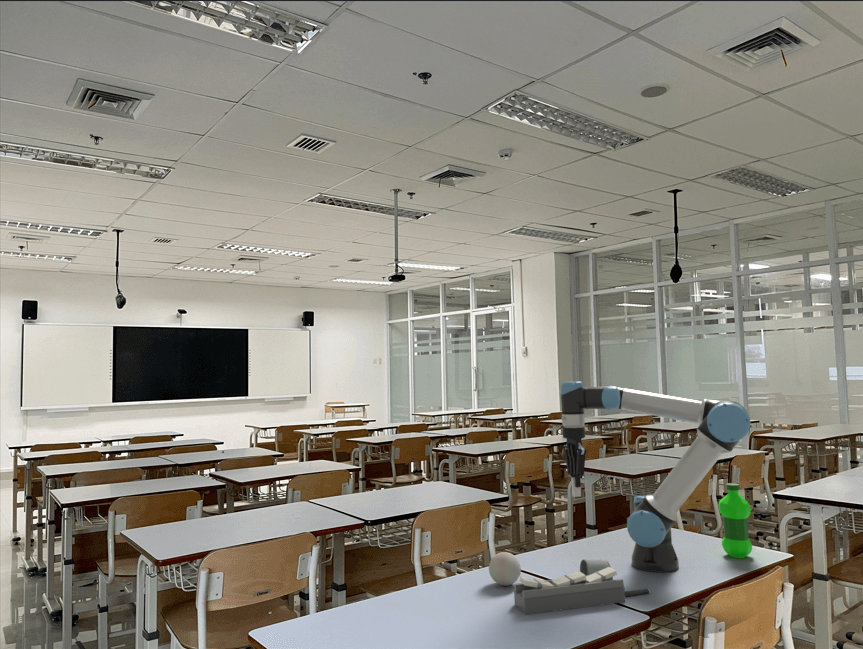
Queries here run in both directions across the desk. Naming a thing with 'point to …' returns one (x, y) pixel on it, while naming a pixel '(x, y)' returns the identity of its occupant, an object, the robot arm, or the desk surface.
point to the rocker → (601, 575)
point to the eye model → (504, 568)
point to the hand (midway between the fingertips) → (576, 496)
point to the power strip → (571, 595)
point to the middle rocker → (569, 579)
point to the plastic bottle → (735, 522)
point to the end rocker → (535, 583)
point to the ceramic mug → (593, 566)
